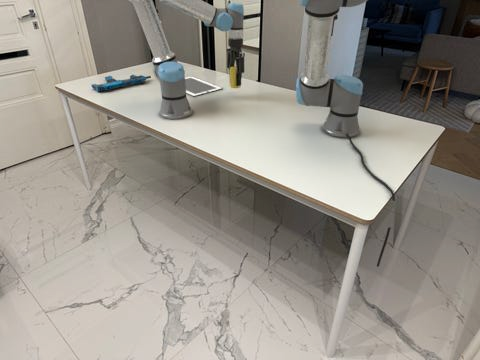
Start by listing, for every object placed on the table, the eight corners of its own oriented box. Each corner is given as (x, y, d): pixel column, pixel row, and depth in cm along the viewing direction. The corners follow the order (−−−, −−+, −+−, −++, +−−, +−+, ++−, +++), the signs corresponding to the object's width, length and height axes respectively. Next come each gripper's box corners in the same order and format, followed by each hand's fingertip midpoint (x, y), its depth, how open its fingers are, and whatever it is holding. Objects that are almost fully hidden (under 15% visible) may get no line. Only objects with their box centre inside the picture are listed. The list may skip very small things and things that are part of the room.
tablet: (164, 83, 207) (164, 82, 207) (191, 76, 218) (191, 76, 218) (193, 96, 187) (193, 95, 187) (222, 88, 198) (222, 88, 198)
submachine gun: (137, 69, 223) (155, 75, 206) (138, 75, 225) (156, 81, 208) (84, 79, 204) (99, 87, 188) (85, 85, 206) (101, 94, 190)
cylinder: (241, 85, 185) (241, 66, 180) (240, 88, 180) (240, 69, 175) (230, 84, 186) (230, 66, 180) (229, 88, 181) (229, 68, 175)
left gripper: (252, 40, 165) (251, 87, 177) (231, 34, 178) (231, 78, 190) (239, 42, 161) (239, 89, 174) (219, 35, 174) (220, 80, 187)
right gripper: (310, -20, 159) (306, 29, 171) (333, -17, 139) (326, 38, 150) (325, -20, 160) (320, 28, 172) (350, -17, 140) (342, 38, 152)
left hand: (235, 83), depth 182 cm, fingers closed on cylinder, 6 cm apart
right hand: (323, 33), depth 161 cm, fingers open, 13 cm apart
